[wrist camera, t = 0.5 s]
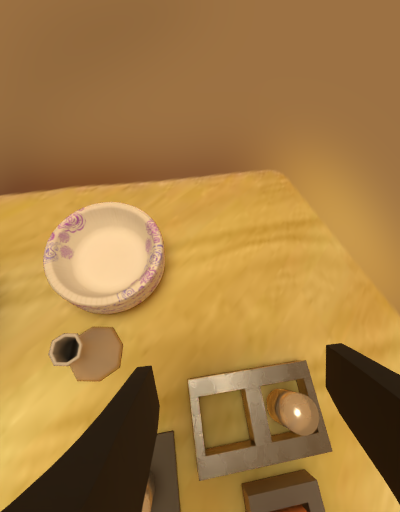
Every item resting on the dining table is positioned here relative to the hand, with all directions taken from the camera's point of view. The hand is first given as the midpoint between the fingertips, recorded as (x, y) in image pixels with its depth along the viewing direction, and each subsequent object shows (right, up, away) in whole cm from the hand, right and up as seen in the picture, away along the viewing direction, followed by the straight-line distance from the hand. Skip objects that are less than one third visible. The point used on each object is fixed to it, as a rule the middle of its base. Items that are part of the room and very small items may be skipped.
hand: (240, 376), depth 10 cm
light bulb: (+9, -15, +23) cm, 29 cm away
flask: (-16, -9, +24) cm, 30 cm away
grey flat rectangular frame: (+5, -15, +22) cm, 27 cm away
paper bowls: (-15, +3, +29) cm, 32 cm away
